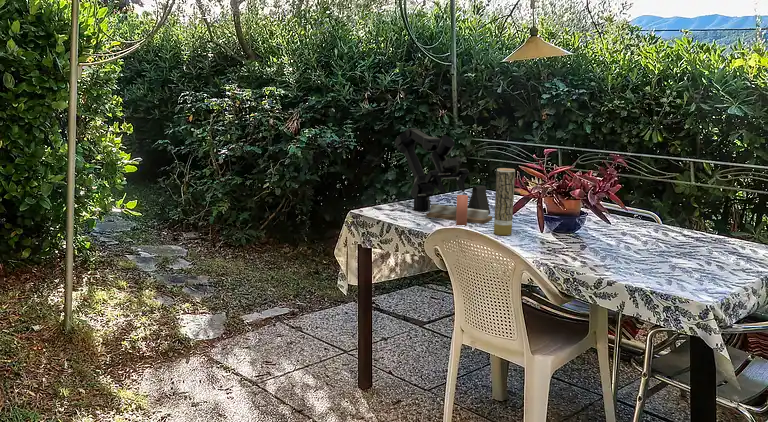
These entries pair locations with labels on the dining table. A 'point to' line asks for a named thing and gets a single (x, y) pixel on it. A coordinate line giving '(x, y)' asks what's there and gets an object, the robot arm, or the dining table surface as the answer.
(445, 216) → the ridge board
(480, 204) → the door stopper
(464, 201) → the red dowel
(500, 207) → the bark log
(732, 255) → the dining table surface
